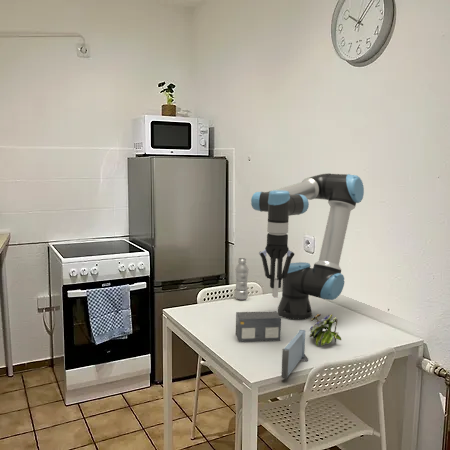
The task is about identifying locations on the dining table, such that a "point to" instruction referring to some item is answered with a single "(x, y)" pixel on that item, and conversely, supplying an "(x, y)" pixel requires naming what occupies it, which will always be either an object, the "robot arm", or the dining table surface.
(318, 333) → the passion flower
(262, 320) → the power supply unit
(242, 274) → the plastic bottle
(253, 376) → the dining table surface
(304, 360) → the arm mount
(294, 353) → the blue-grey flat panel
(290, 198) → the robot arm
